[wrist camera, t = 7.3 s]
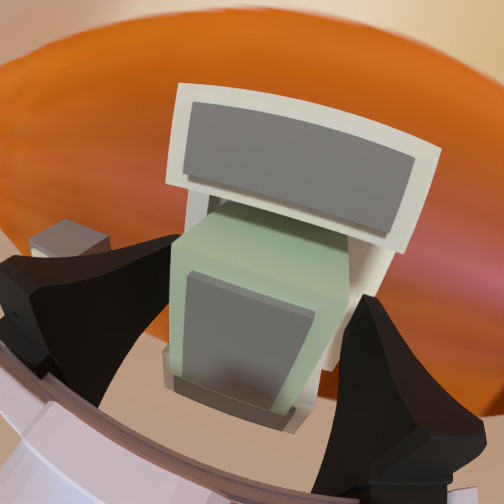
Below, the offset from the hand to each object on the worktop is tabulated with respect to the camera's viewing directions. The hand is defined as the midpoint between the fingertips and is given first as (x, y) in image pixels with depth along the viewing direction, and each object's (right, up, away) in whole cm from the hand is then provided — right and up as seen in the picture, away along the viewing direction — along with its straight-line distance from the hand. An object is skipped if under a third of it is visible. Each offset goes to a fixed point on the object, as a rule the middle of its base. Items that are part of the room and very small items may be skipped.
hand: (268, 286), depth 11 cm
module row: (+1, +2, +3) cm, 4 cm away
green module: (+1, +1, +3) cm, 3 cm away
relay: (-13, +2, +8) cm, 15 cm away
